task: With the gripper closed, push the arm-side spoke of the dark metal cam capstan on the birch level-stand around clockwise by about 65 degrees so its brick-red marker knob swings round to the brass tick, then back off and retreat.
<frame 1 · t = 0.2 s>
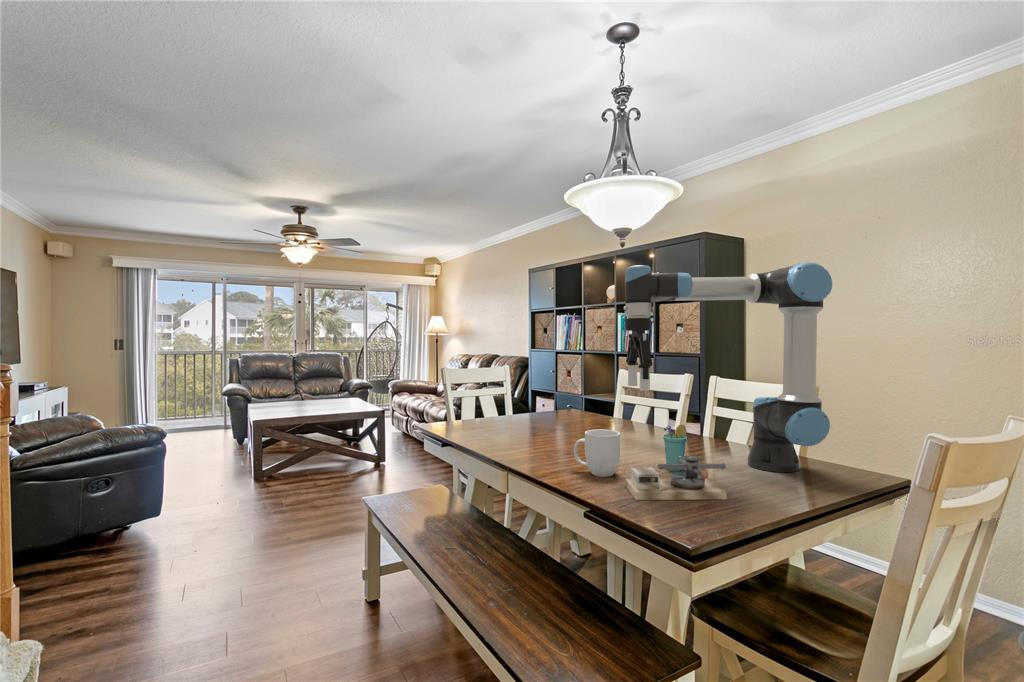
hand: (638, 388, 146), 27 cm above the table, fingers open, 13 cm apart
mug: (599, 474, 153), on the table
capstan: (691, 470, 134), point 6 cm above the table, hinge at 0.0°
stand: (673, 492, 134), on the table
teal pot with plants: (673, 470, 157), on the table
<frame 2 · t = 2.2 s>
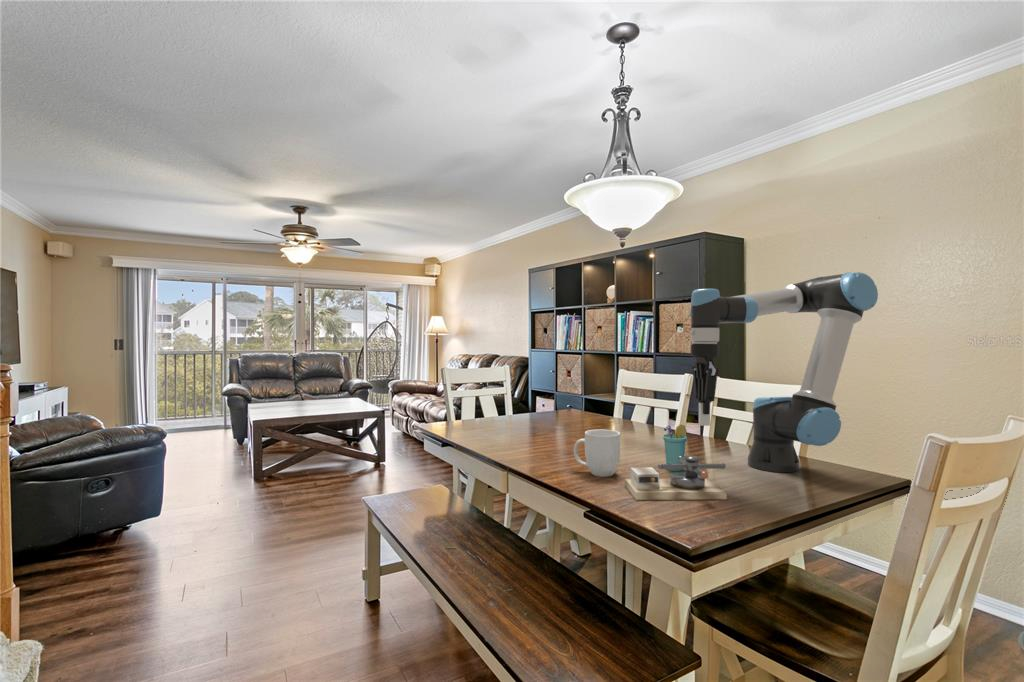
hand: (704, 425, 139), 18 cm above the table, fingers closed
nothing on the table moved.
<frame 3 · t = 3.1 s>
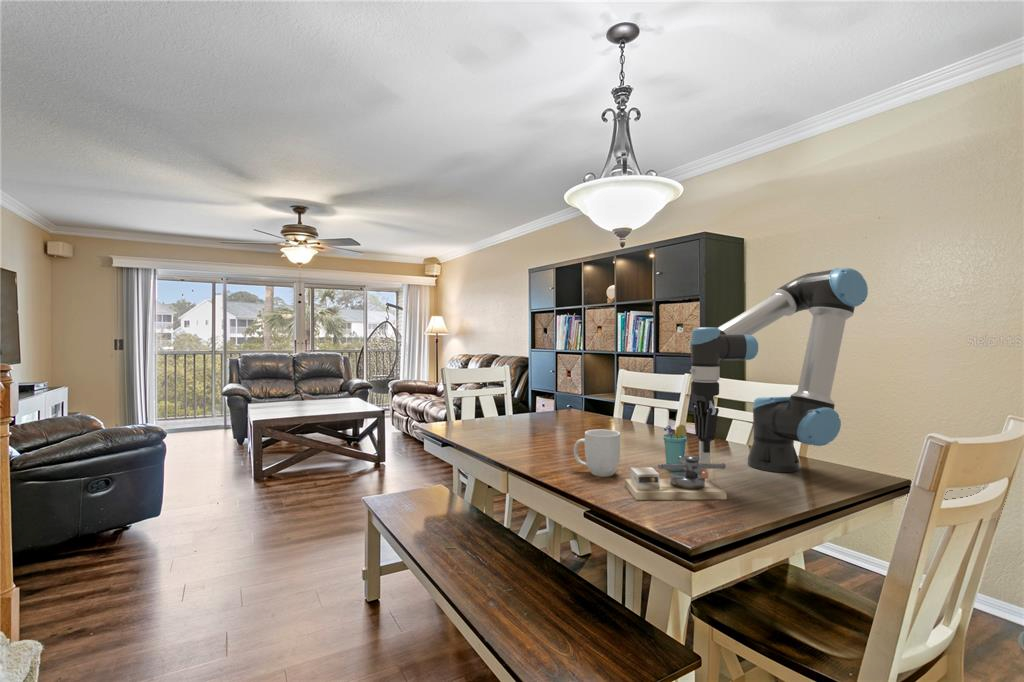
hand: (704, 463, 140), 7 cm above the table, fingers closed
nothing on the table moved.
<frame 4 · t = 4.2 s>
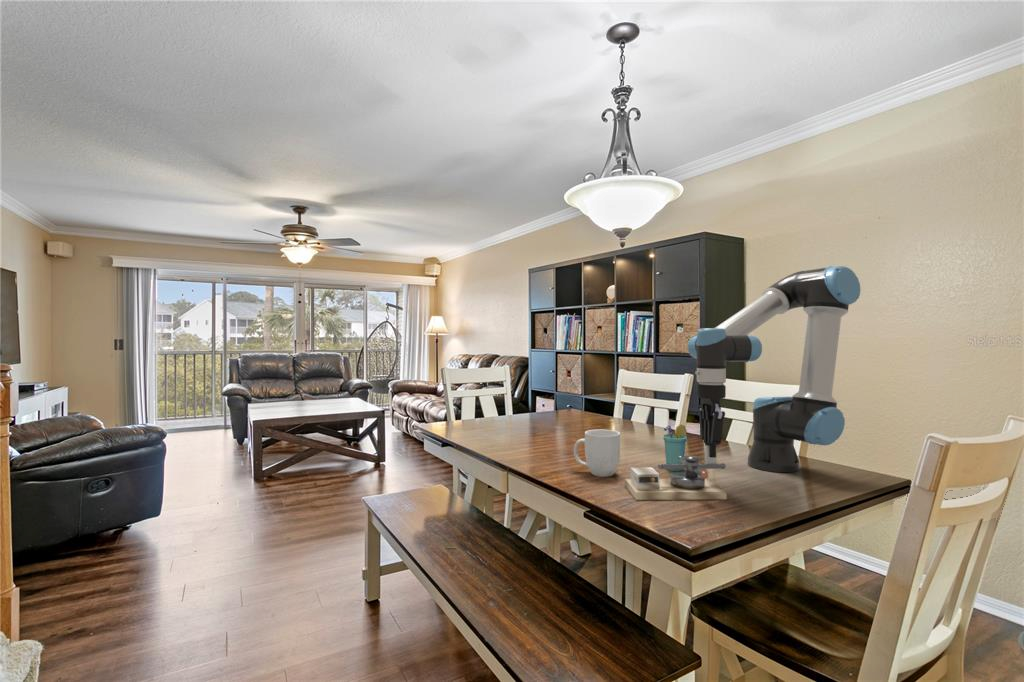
hand: (710, 467, 135), 6 cm above the table, fingers closed
capstan: (691, 470, 134), point 6 cm above the table, hinge at 0.0°, touching gripper
everything else where it was.
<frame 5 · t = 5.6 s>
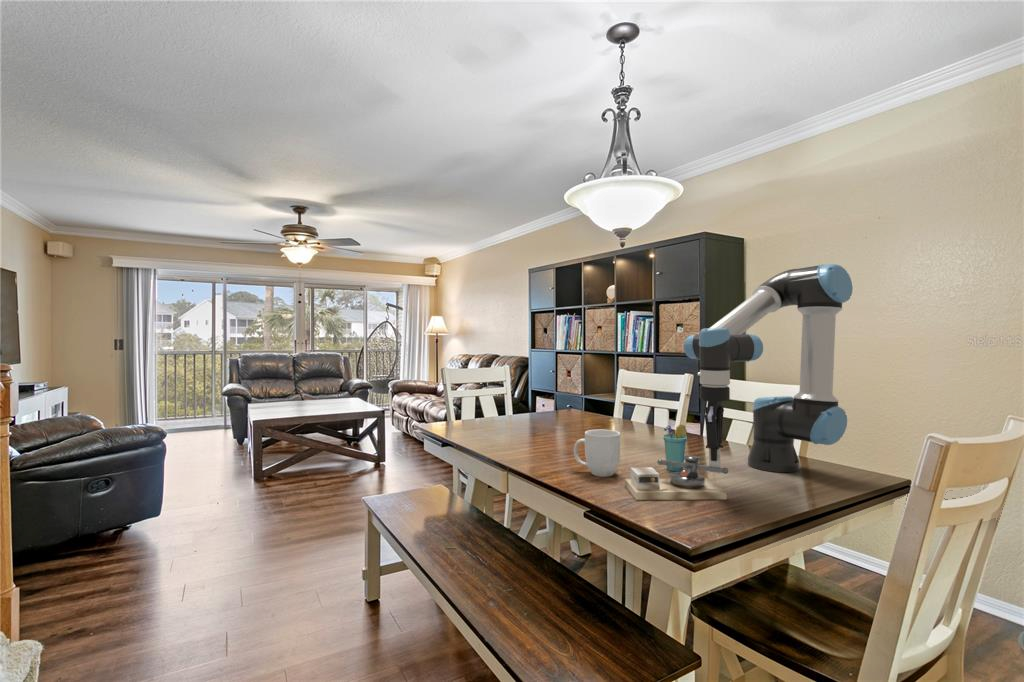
hand: (714, 471, 132), 6 cm above the table, fingers closed
capstan: (691, 470, 134), point 6 cm above the table, hinge at -33.0°, touching gripper
everything else where it was.
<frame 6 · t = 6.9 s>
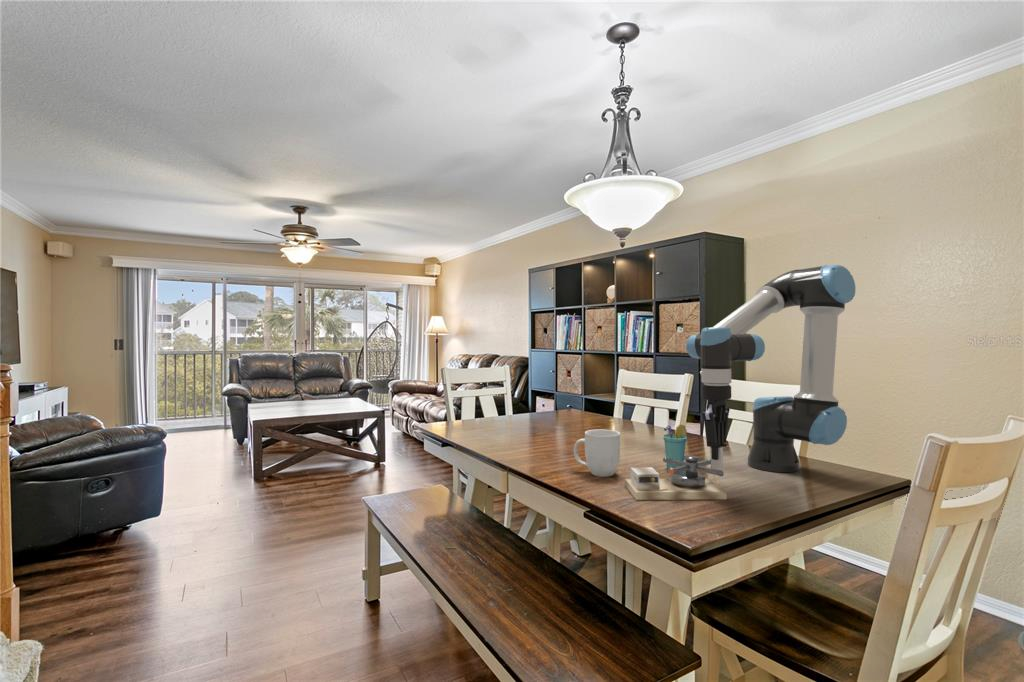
hand: (717, 470, 132), 7 cm above the table, fingers closed
capstan: (691, 470, 134), point 6 cm above the table, hinge at -55.8°
everything else where it was.
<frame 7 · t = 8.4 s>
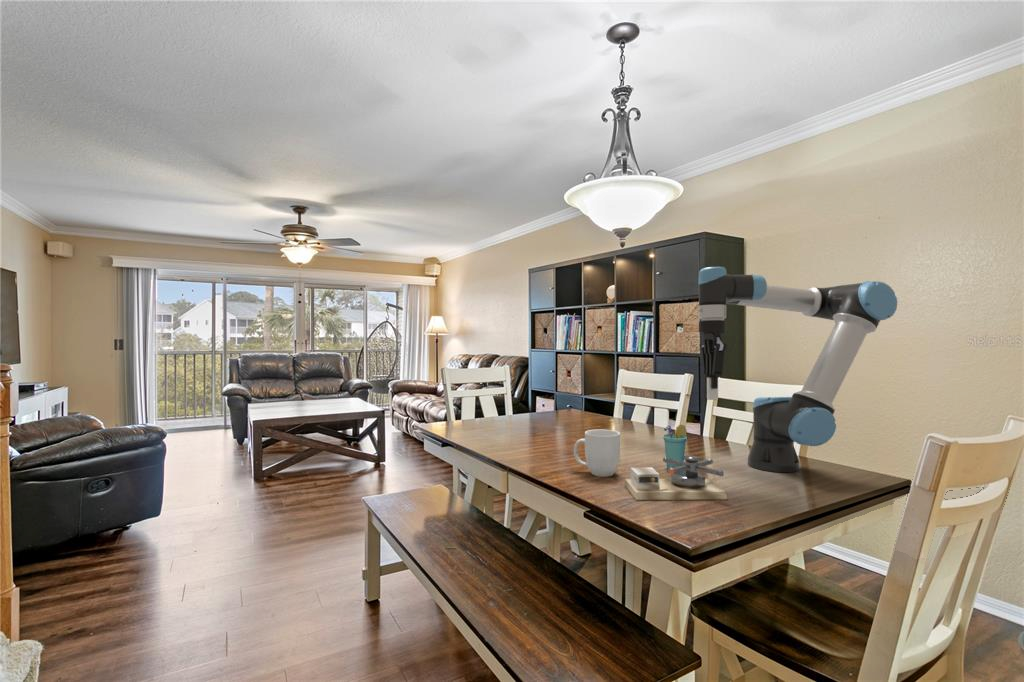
hand: (712, 399, 144), 24 cm above the table, fingers closed
nothing on the table moved.
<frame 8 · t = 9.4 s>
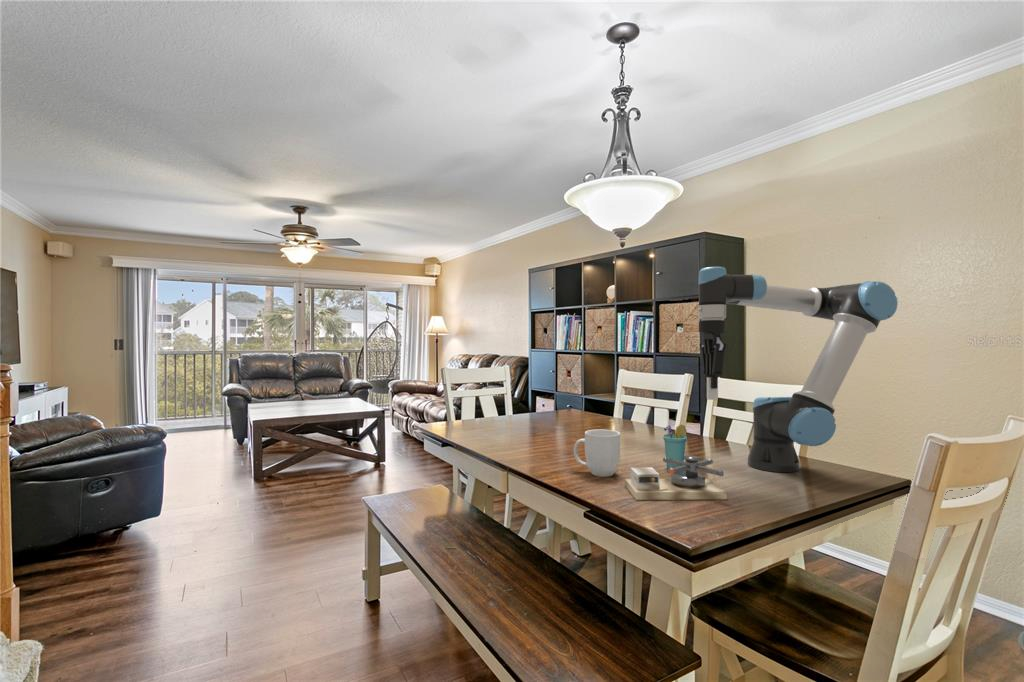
hand: (712, 399, 144), 24 cm above the table, fingers closed
nothing on the table moved.
at the end: capstan at -56° (first picture: +0°) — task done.
